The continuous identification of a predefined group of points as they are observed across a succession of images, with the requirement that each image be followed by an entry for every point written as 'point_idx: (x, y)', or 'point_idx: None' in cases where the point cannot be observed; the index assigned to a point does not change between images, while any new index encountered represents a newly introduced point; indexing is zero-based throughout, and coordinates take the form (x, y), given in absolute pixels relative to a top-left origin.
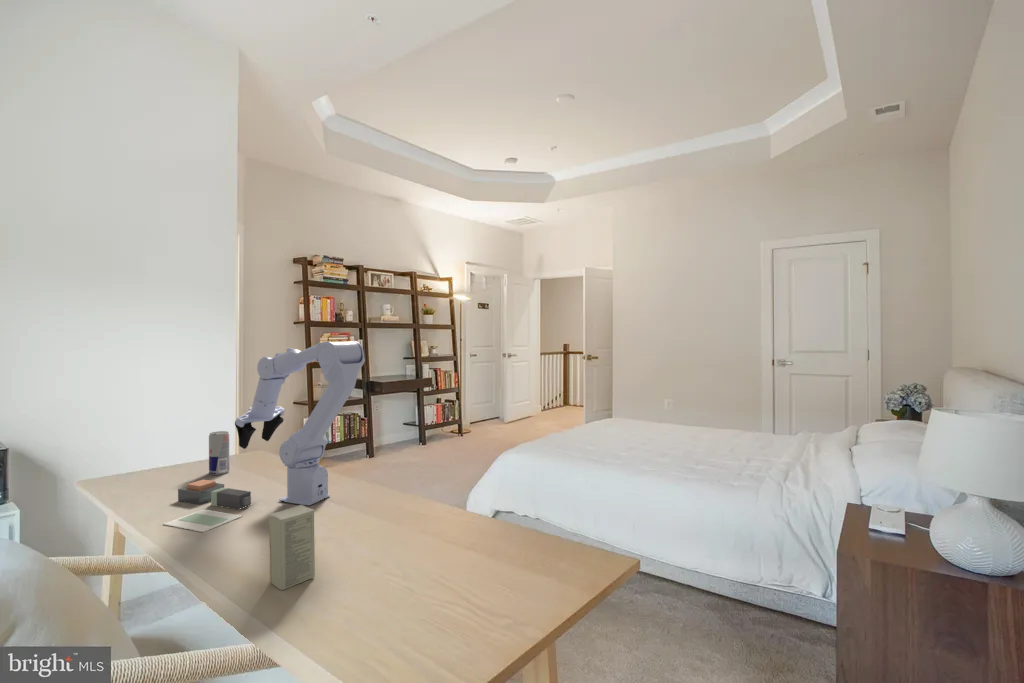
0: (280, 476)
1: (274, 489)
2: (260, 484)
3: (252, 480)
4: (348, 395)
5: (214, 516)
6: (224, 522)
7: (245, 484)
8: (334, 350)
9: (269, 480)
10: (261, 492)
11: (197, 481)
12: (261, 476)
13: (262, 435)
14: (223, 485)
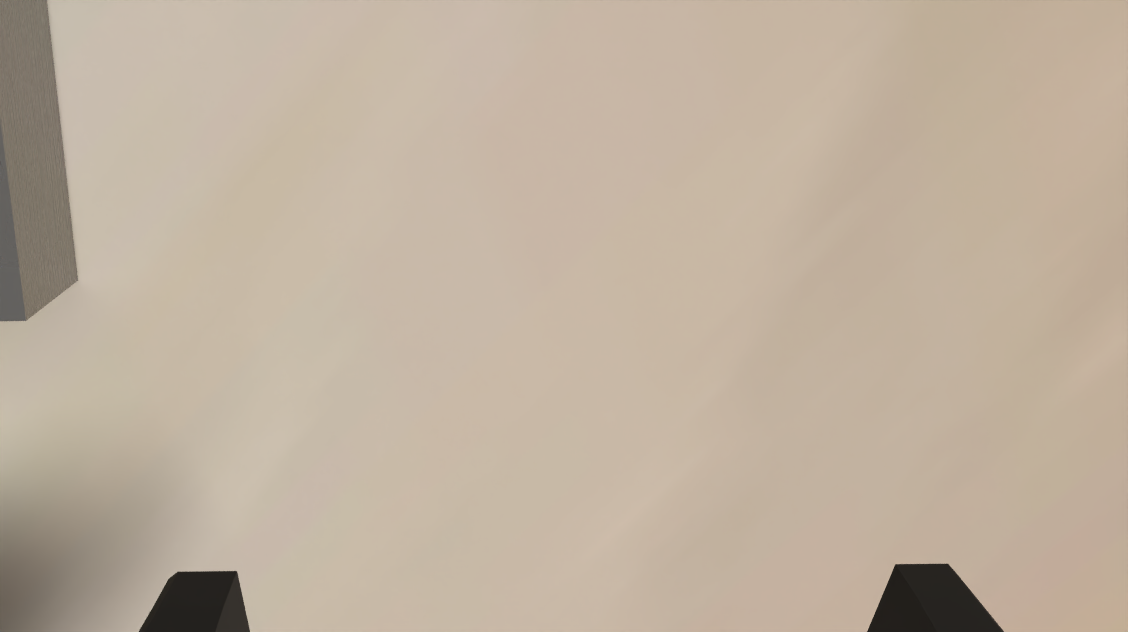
0: (926, 274)
1: (498, 584)
2: (590, 309)
3: (692, 84)
4: None
5: None
6: None
7: (527, 140)
8: None
9: (754, 281)
10: (361, 546)
11: None
12: (869, 52)
13: (923, 628)
14: (16, 316)
